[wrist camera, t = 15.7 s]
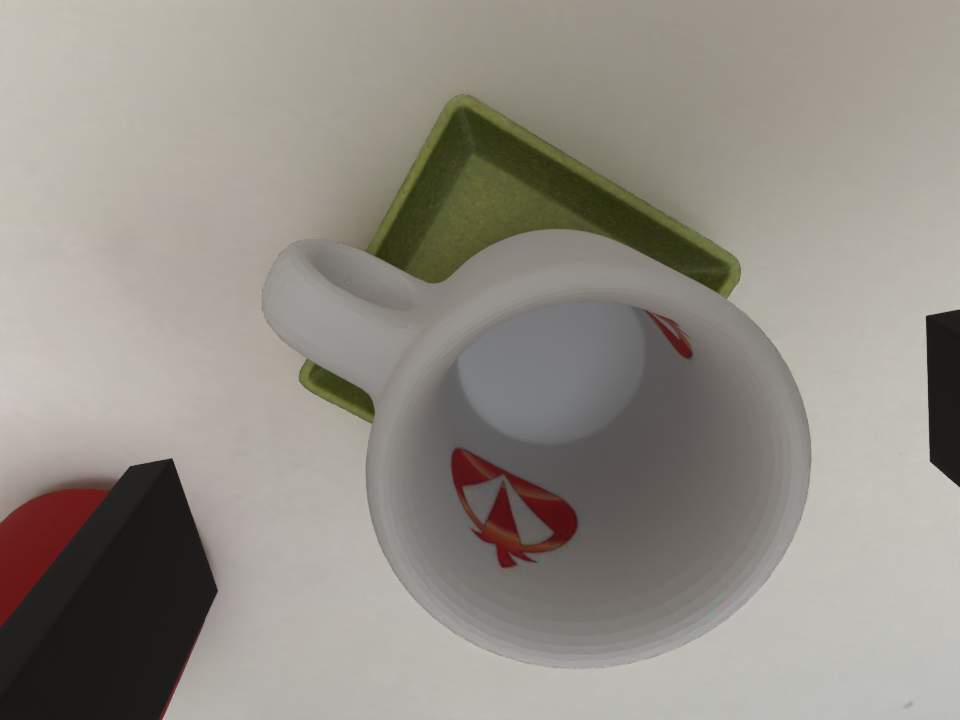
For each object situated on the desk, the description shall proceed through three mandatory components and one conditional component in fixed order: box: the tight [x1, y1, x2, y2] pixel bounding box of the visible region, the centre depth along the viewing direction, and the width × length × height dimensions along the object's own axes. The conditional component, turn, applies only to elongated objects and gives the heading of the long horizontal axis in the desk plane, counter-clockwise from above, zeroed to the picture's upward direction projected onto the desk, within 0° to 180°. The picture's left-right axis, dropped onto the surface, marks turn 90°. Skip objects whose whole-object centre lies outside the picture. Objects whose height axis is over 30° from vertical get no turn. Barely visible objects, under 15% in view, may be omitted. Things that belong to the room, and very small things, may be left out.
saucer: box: [299, 94, 741, 423], centre depth 24 cm, size 9×9×2 cm
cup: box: [262, 229, 811, 669], centre depth 19 cm, size 11×8×8 cm
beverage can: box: [0, 489, 205, 720], centre depth 22 cm, size 7×7×12 cm
